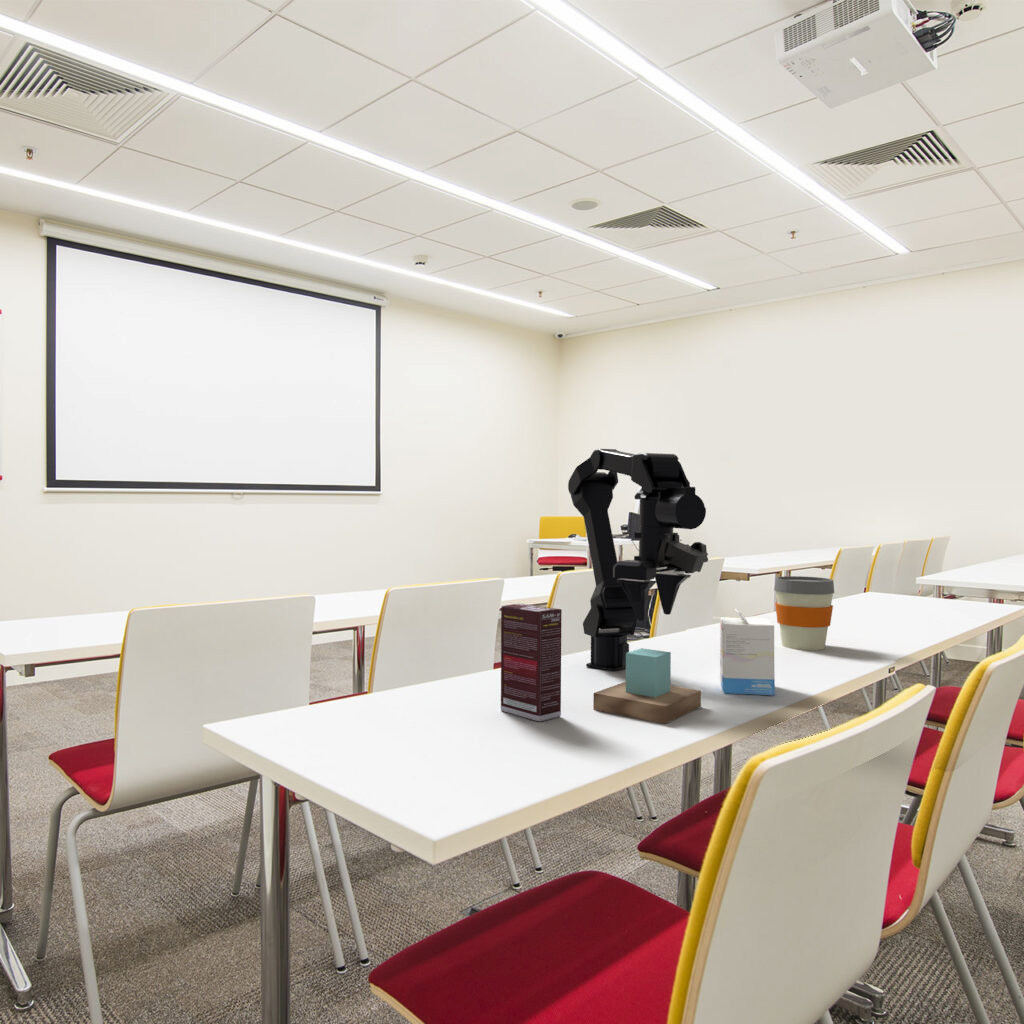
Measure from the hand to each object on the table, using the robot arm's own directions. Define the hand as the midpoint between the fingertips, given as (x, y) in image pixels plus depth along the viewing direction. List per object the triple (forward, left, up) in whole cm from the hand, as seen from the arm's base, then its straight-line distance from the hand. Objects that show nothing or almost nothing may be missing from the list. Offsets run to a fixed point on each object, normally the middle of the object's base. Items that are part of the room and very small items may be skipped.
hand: (654, 617), depth 132 cm
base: (+6, -14, -12) cm, 19 cm away
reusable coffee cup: (+8, +55, -12) cm, 57 cm away
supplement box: (-6, -28, -12) cm, 31 cm away
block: (+6, -14, -9) cm, 17 cm away
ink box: (+13, +8, -12) cm, 20 cm away
